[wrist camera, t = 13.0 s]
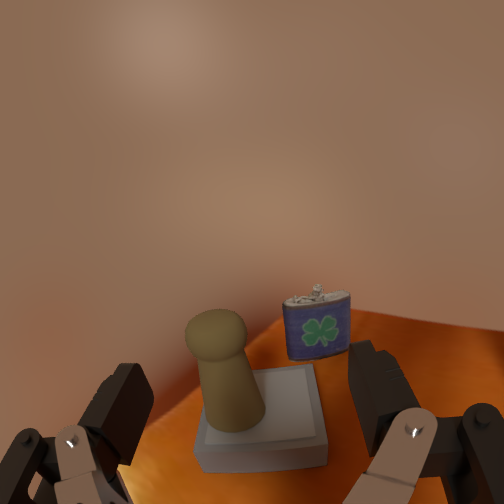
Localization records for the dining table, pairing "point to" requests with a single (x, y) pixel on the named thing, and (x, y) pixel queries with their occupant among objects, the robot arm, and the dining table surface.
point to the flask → (317, 325)
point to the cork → (225, 370)
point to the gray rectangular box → (271, 428)
